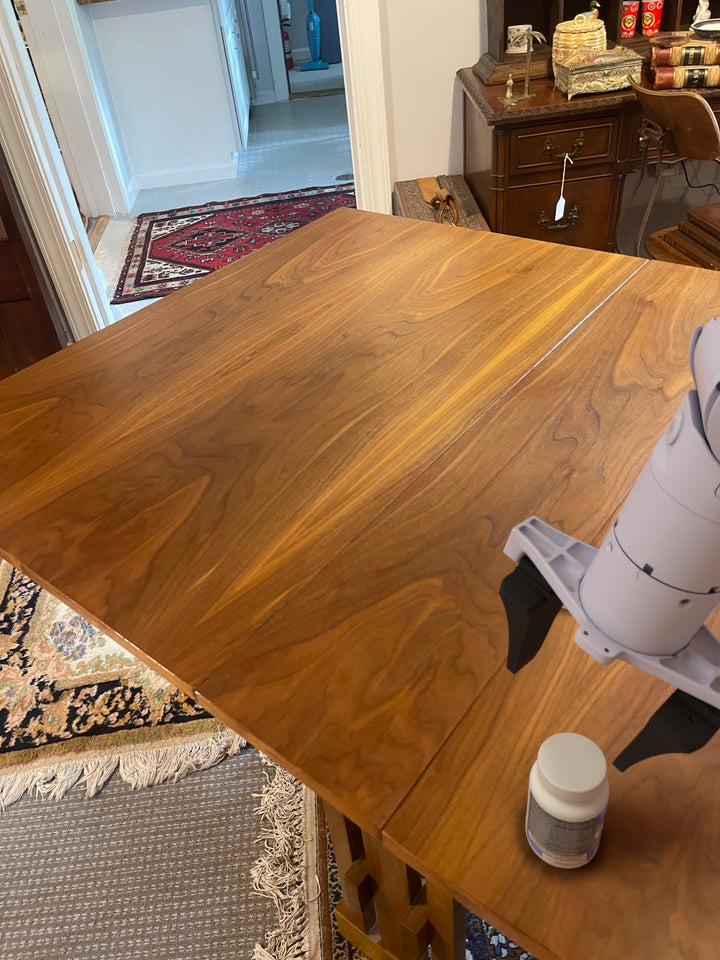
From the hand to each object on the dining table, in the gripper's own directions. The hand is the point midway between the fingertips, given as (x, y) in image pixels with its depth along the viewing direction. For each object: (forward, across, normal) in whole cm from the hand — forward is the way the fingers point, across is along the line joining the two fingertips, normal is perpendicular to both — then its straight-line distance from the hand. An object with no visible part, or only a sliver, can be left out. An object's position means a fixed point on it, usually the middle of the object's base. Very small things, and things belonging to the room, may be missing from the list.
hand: (570, 708), depth 42 cm
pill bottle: (+11, +4, +1) cm, 12 cm away
